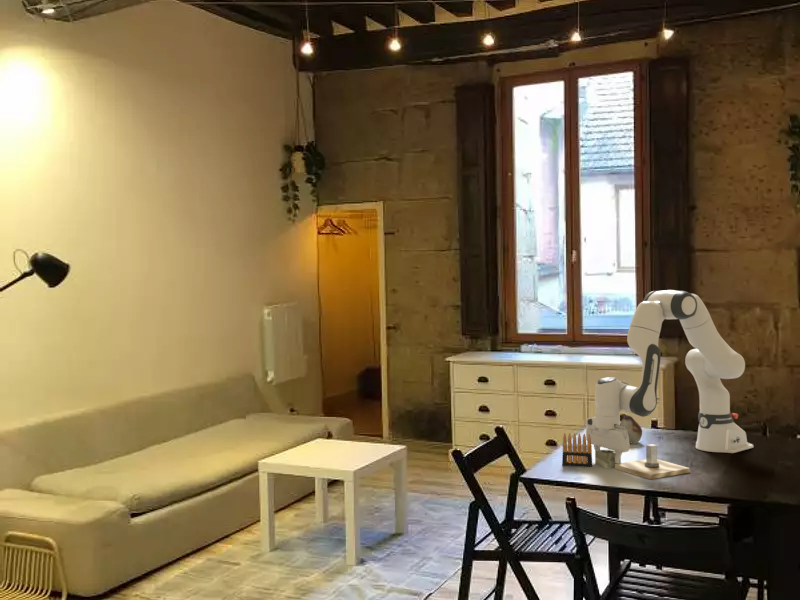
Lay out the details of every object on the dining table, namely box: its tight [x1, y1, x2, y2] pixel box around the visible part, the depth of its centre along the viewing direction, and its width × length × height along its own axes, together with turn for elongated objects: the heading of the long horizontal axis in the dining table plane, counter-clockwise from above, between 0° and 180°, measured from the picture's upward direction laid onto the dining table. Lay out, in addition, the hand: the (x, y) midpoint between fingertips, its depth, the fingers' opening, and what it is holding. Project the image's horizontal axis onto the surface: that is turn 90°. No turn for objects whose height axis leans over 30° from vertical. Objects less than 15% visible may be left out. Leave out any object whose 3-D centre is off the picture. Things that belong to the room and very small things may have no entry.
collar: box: [594, 448, 622, 469], centre depth 317 cm, size 6×6×5 cm
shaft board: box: [614, 443, 691, 480], centre depth 308 cm, size 18×18×9 cm
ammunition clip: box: [561, 432, 593, 468], centre depth 317 cm, size 11×2×12 cm, turn 72°
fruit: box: [620, 414, 643, 445], centre depth 354 cm, size 10×9×12 cm
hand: (607, 460), depth 317 cm, fingers open, 8 cm apart
